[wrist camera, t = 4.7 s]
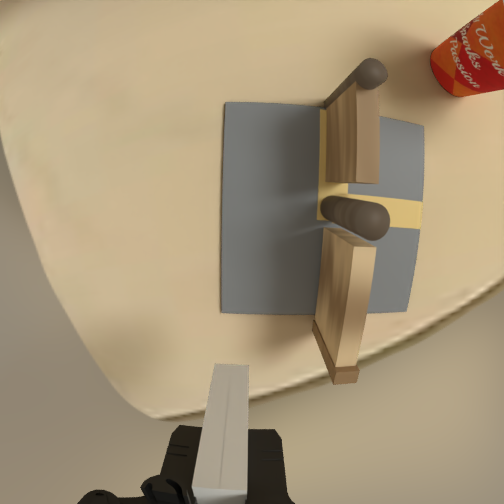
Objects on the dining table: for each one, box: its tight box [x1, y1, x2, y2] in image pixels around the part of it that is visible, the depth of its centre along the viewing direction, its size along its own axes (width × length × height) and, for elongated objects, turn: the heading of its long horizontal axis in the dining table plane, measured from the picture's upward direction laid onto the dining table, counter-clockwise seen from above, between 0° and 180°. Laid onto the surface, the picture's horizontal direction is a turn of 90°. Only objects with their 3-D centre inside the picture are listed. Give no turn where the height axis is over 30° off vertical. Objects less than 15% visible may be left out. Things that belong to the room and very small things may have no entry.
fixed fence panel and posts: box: [320, 58, 390, 241], centre depth 17 cm, size 2×10×8 cm, turn 178°
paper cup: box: [430, 0, 504, 97], centre depth 12 cm, size 8×8×14 cm
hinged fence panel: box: [312, 227, 377, 385], centre depth 19 cm, size 9×2×8 cm, turn 178°
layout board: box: [222, 102, 424, 315], centre depth 22 cm, size 17×17×1 cm
